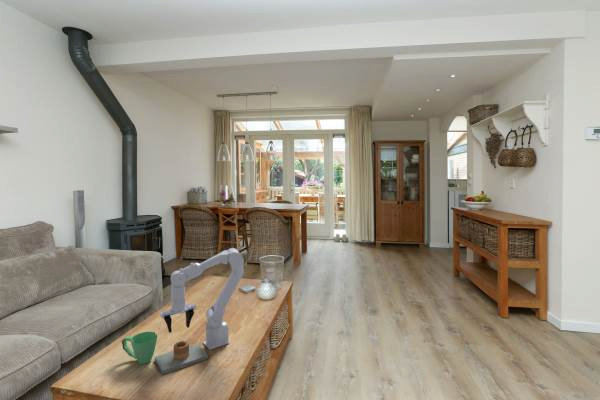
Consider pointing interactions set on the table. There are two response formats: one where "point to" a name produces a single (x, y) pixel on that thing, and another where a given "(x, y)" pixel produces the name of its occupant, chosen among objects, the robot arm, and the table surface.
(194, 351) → the post board
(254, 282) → the table surface
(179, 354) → the tube
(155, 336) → the mug
